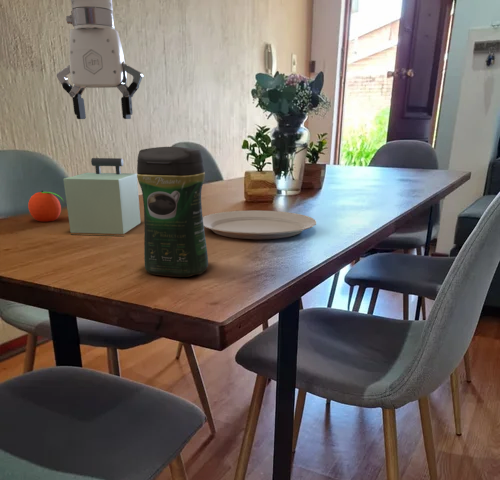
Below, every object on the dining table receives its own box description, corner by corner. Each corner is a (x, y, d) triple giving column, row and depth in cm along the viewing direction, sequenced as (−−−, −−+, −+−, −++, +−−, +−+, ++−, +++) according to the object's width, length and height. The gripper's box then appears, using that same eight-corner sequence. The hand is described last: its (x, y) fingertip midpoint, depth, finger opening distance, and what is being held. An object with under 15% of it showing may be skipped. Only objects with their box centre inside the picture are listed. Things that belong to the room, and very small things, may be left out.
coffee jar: (214, 267, 83) (211, 146, 75) (195, 281, 76) (190, 148, 68) (160, 262, 85) (152, 144, 78) (137, 275, 78) (126, 147, 71)
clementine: (71, 219, 120) (67, 188, 117) (62, 225, 114) (58, 192, 111) (36, 219, 120) (31, 188, 117) (26, 225, 113) (20, 192, 110)
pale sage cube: (116, 162, 98) (135, 157, 109) (60, 161, 99) (85, 157, 110) (123, 236, 103) (140, 225, 114) (70, 235, 104) (92, 224, 115)
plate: (327, 242, 100) (327, 232, 99) (196, 243, 98) (196, 233, 97) (305, 218, 123) (305, 210, 123) (199, 219, 122) (199, 210, 121)
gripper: (41, 19, 95) (55, 119, 102) (131, 17, 93) (139, 118, 100) (59, 26, 102) (71, 119, 108) (143, 24, 100) (150, 118, 107)
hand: (104, 118), depth 104 cm, fingers open, 9 cm apart
